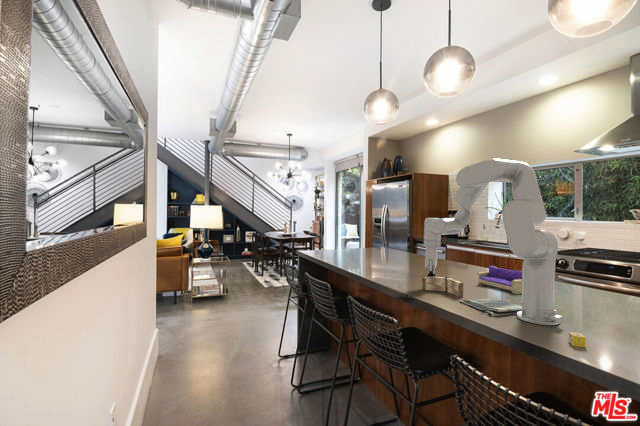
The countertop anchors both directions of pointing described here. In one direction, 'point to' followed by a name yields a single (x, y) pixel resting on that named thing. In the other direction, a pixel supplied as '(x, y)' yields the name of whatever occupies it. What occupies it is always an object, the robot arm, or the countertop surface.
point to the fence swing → (433, 283)
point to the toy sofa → (502, 279)
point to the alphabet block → (577, 339)
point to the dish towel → (493, 306)
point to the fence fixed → (454, 287)
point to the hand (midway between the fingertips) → (431, 281)
